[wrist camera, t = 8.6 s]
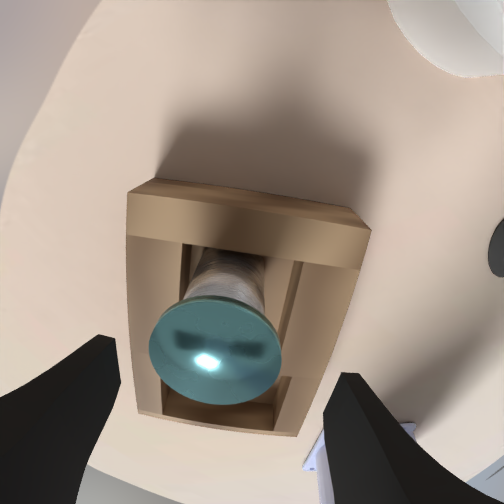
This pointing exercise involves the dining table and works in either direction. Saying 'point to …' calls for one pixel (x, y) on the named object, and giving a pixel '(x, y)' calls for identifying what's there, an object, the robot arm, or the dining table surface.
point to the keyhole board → (275, 287)
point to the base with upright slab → (455, 33)
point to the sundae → (497, 251)
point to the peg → (219, 333)
